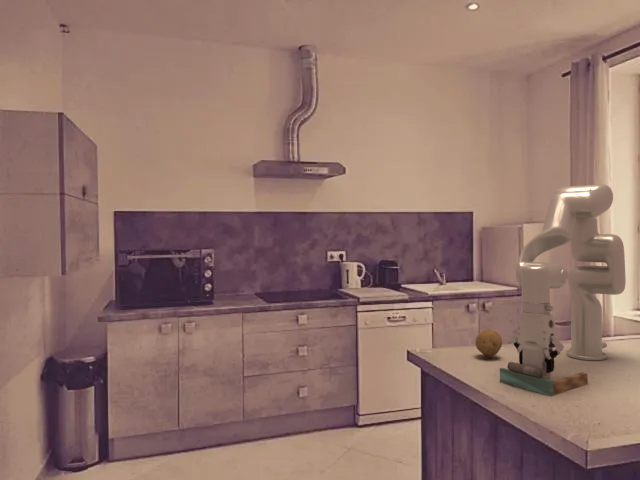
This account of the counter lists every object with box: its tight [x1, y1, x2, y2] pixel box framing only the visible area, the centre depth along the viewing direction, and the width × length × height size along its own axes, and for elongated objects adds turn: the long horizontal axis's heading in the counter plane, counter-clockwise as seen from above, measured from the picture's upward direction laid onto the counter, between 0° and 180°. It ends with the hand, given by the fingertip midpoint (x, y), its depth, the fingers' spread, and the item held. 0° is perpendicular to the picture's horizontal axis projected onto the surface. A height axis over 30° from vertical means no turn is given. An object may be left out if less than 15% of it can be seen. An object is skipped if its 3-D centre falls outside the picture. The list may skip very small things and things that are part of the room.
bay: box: [499, 361, 589, 397], centre depth 152 cm, size 19×16×9 cm
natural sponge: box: [475, 328, 503, 359], centre depth 182 cm, size 9×9×10 cm
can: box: [522, 341, 552, 380], centre depth 151 cm, size 8×8×12 cm
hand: (536, 368), depth 151 cm, fingers open, 7 cm apart
